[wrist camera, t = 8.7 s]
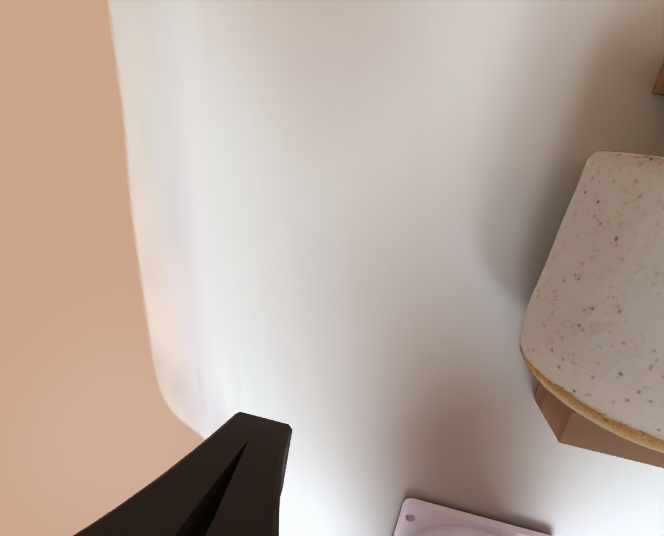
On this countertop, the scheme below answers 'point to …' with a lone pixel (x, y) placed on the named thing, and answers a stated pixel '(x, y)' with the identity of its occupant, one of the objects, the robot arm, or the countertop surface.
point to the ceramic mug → (606, 300)
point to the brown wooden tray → (581, 429)
